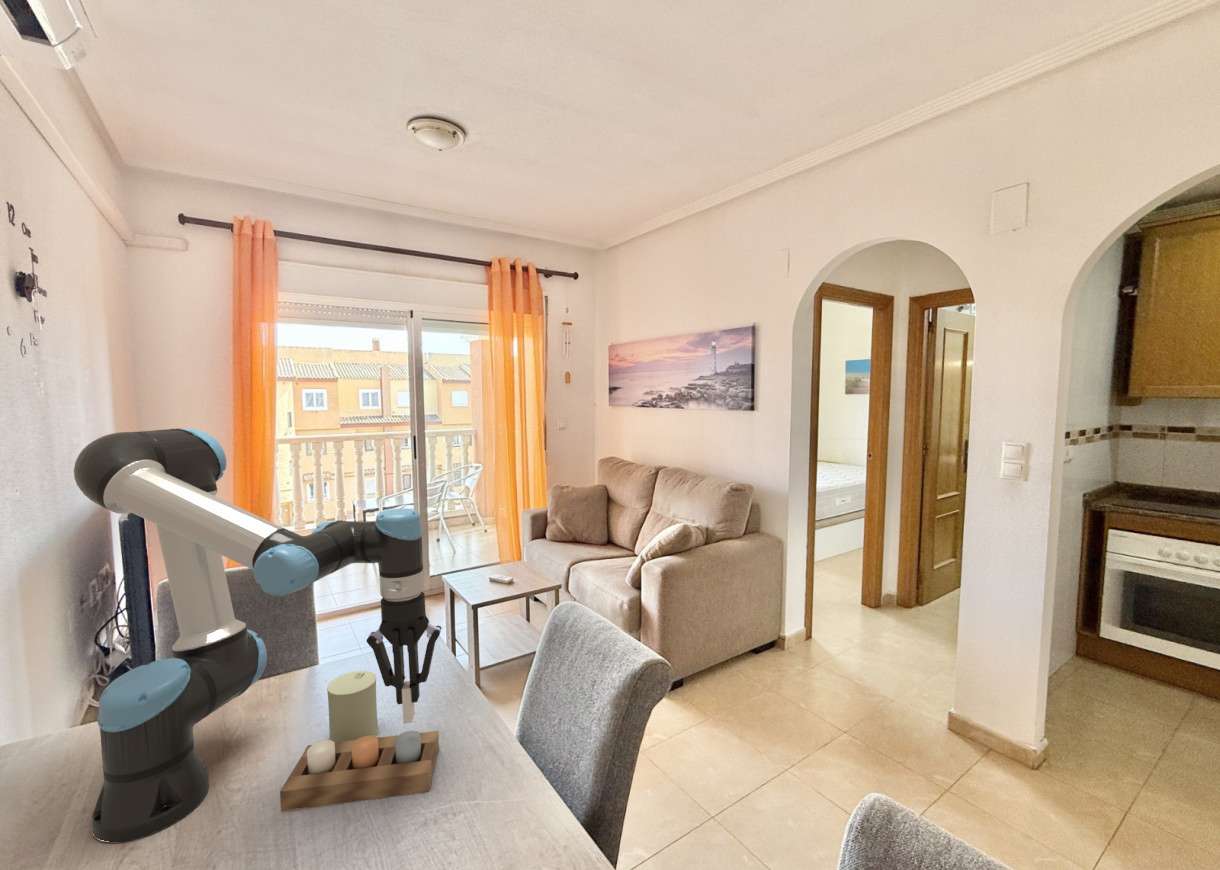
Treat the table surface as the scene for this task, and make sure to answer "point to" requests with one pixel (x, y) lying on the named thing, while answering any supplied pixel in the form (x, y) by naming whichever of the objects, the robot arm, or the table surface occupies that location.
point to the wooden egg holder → (361, 776)
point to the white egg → (321, 757)
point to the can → (352, 706)
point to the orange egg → (365, 752)
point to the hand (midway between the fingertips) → (409, 718)
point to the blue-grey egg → (408, 747)
